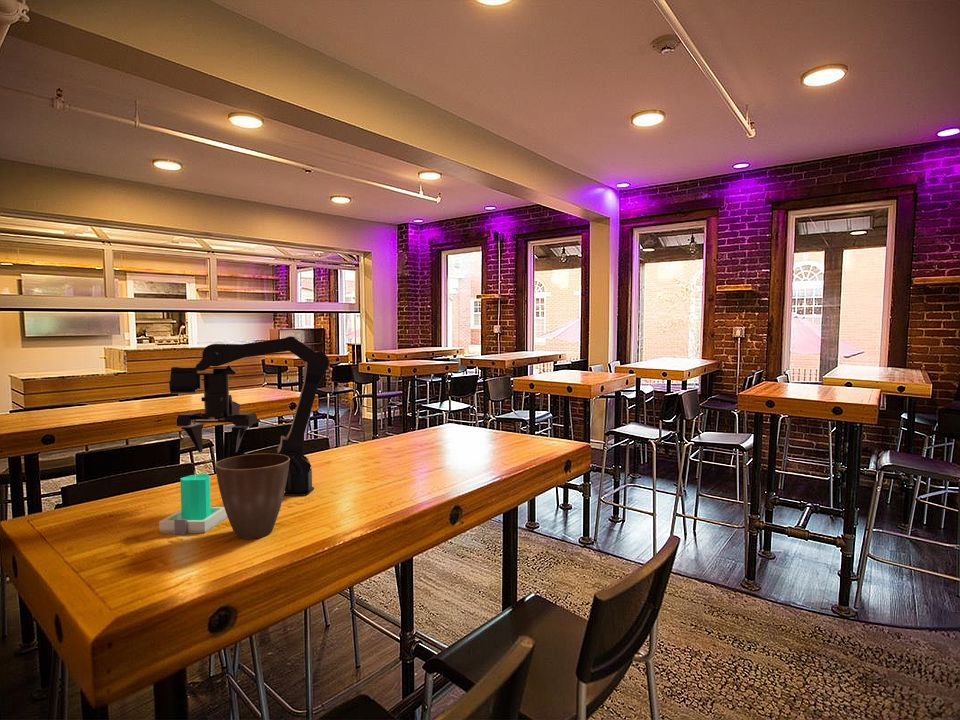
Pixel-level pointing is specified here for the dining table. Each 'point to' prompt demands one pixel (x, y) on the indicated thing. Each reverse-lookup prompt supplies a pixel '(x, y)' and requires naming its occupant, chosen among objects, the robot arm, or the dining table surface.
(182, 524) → the white square tray
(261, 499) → the plant pot
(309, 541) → the dining table surface
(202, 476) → the candle
